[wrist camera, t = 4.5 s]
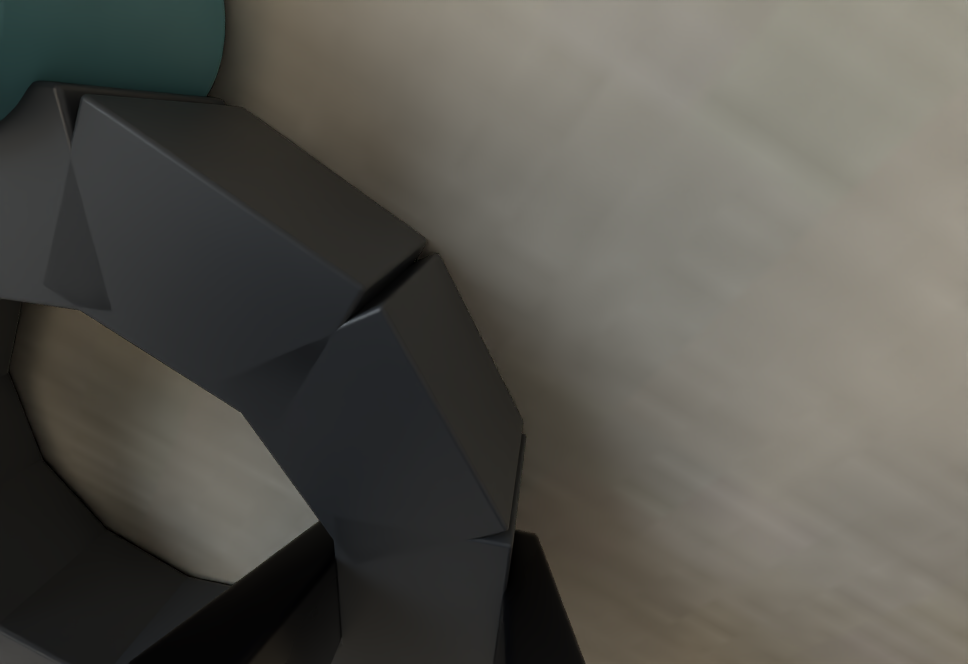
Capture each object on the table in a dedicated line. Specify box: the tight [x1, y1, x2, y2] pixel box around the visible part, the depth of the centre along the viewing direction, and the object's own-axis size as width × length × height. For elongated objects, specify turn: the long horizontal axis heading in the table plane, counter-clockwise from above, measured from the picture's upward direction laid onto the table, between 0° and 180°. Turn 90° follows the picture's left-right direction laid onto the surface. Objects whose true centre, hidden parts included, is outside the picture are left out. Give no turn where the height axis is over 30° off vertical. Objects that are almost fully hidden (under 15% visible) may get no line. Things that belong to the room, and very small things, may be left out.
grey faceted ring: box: [0, 0, 526, 664], centre depth 8 cm, size 13×19×3 cm
